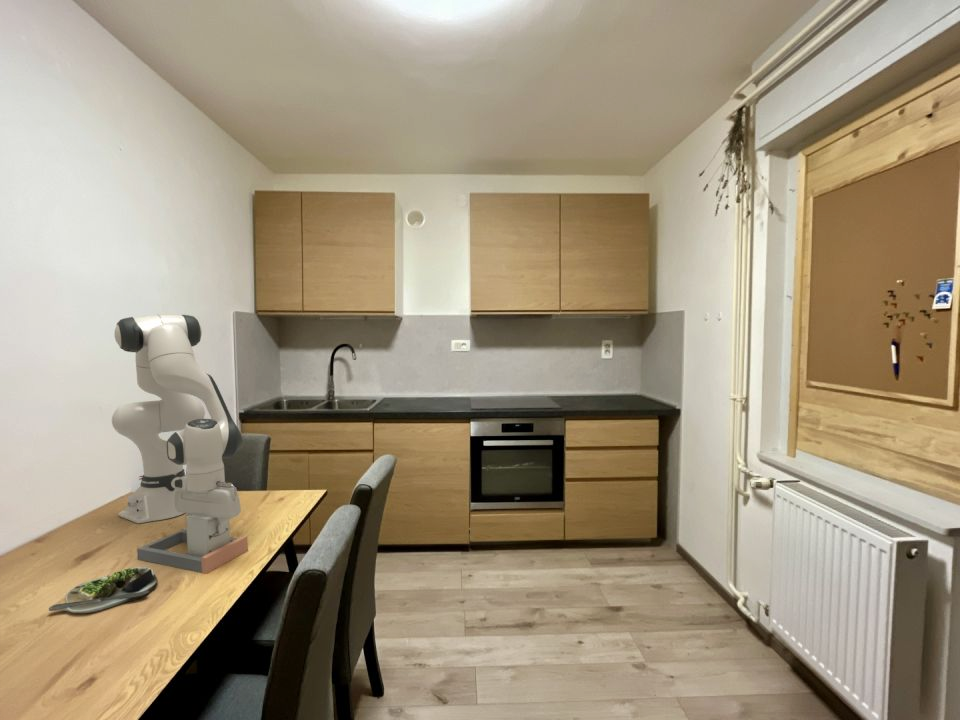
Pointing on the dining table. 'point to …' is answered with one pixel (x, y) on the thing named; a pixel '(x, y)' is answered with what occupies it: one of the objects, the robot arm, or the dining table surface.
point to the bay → (199, 564)
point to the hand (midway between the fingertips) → (208, 530)
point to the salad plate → (109, 591)
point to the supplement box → (204, 535)
